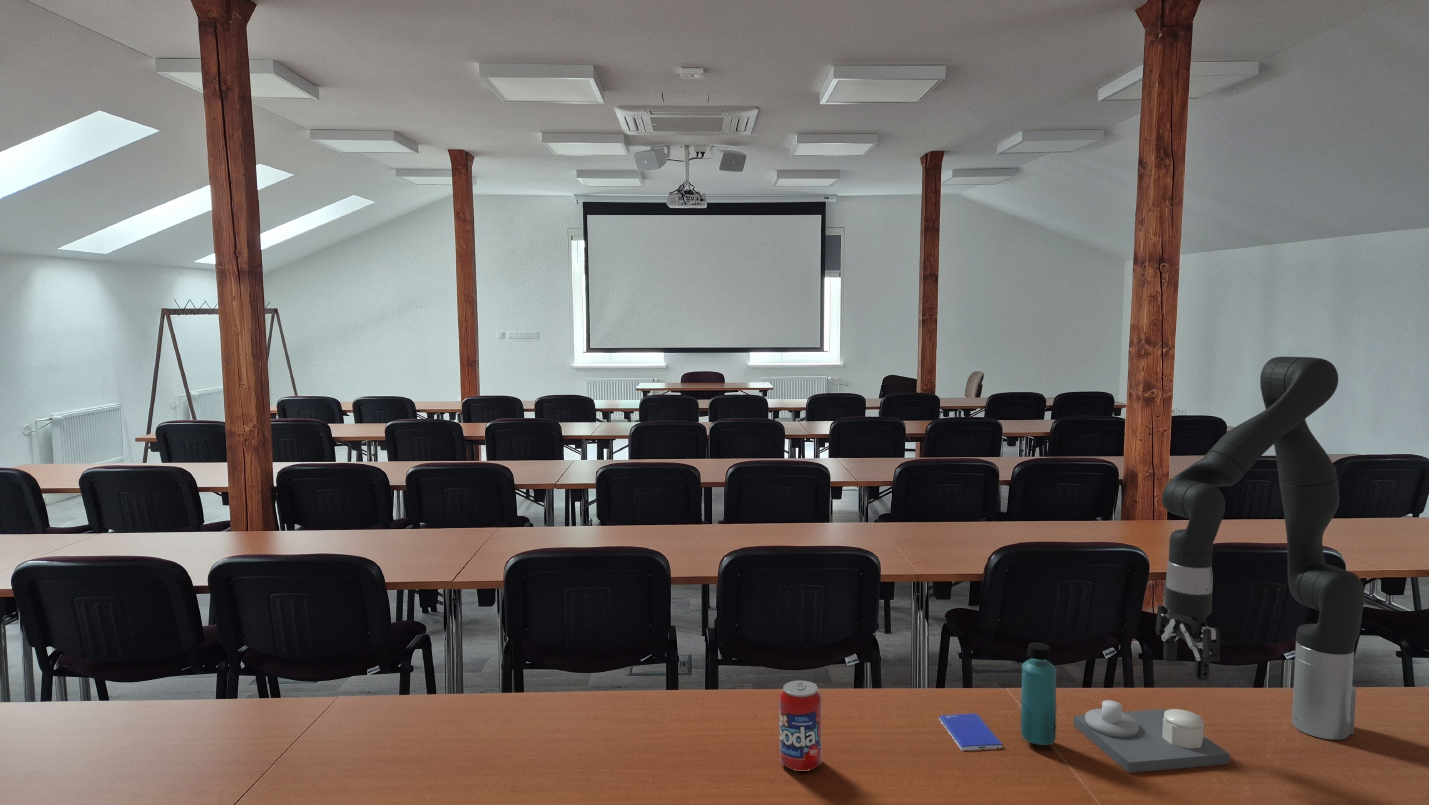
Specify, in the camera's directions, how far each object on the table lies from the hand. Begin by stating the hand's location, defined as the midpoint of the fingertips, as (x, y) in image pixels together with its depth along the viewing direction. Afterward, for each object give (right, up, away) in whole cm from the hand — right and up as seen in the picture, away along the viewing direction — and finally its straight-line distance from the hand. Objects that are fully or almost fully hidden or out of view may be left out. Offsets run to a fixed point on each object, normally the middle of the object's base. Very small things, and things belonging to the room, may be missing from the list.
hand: (1184, 669), depth 155 cm
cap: (0, -14, +1) cm, 14 cm away
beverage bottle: (-26, -16, +4) cm, 31 cm away
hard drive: (-38, -16, +9) cm, 42 cm away
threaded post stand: (-5, -16, +4) cm, 17 cm away
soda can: (-73, -17, -1) cm, 75 cm away
